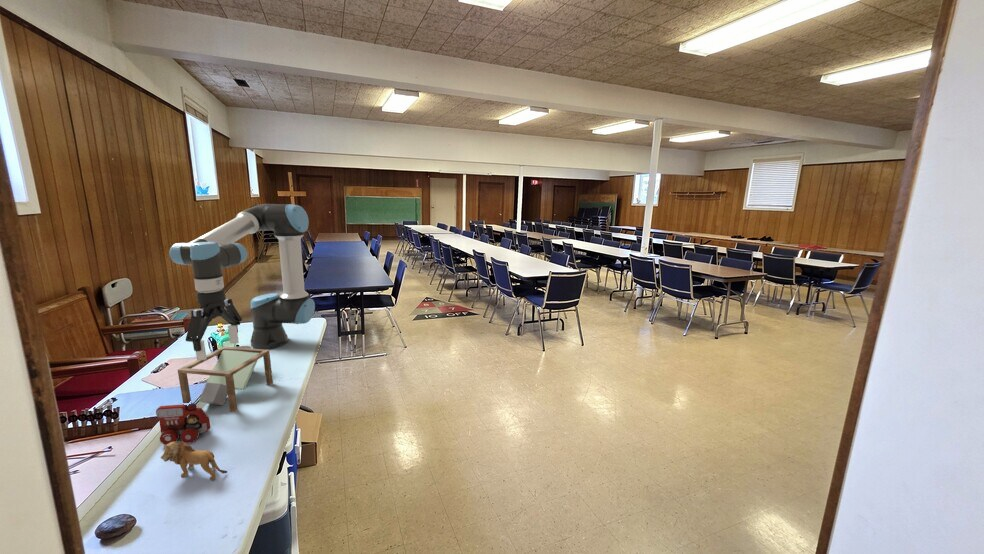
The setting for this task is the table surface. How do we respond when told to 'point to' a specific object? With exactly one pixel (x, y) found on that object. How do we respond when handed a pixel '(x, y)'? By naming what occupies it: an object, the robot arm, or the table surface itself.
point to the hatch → (229, 362)
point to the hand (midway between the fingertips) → (218, 350)
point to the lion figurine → (190, 458)
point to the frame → (224, 373)
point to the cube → (214, 394)
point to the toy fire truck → (181, 422)
